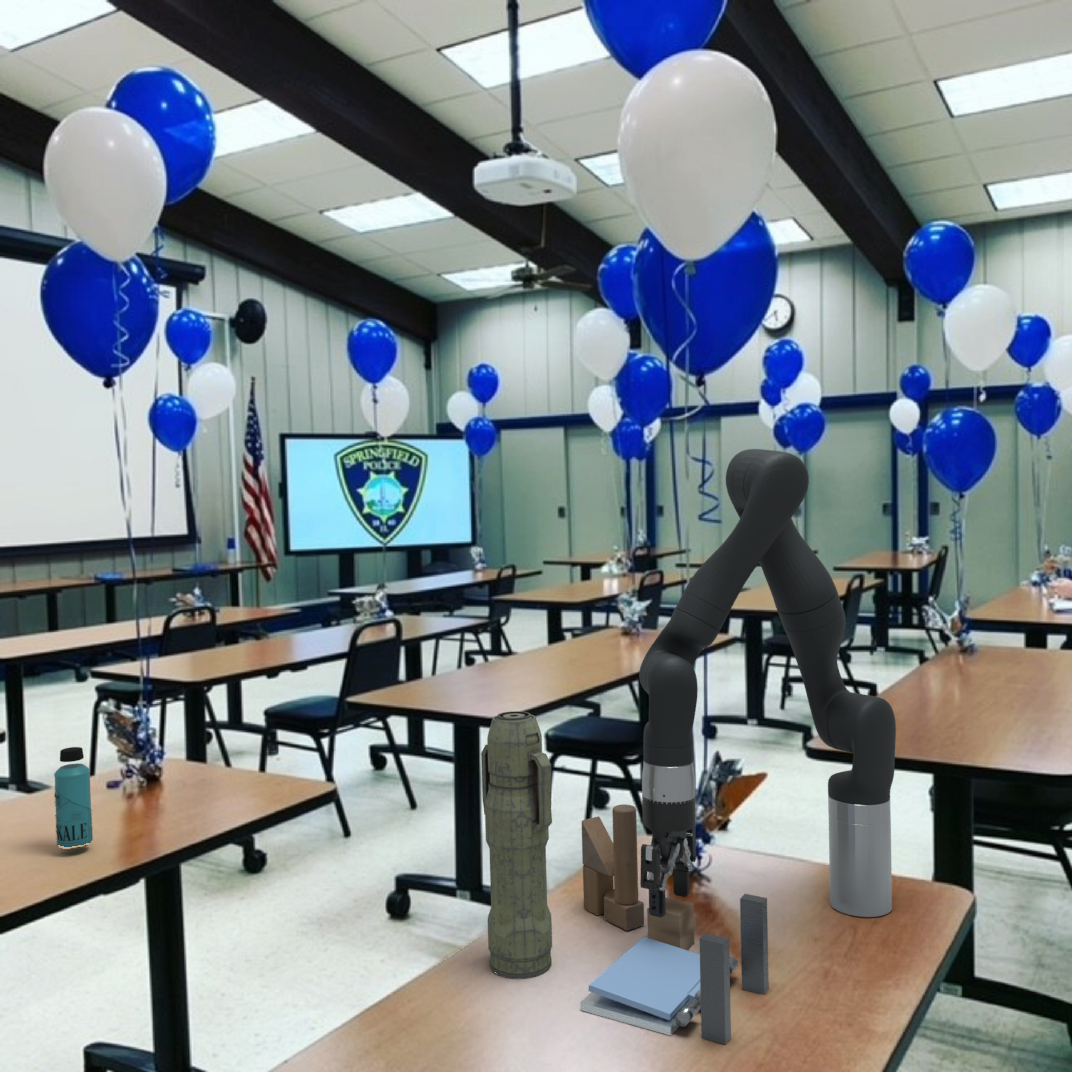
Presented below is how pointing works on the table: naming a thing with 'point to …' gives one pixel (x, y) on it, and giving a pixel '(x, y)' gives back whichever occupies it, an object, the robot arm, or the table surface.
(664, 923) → the block
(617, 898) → the wooden block
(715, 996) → the base leaf
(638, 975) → the pale blue flat slab
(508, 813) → the thermos
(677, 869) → the robot arm
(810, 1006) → the table surface
